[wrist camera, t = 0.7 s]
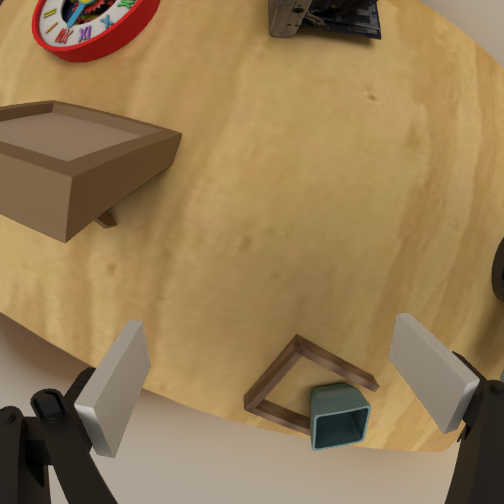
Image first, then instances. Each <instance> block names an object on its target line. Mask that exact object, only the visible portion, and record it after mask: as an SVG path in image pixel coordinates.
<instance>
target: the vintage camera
mask: <svg viewBox="0 0 504 504" xmlns="http://www.w3.org/2000/svg"><path fill="white" fill-rule="evenodd" d="M377 1H378V0H269V26H270V33H271V34H272V35H273V36H276V37H290V36H293V35H294V34H295V33H296V31H297V30H298V27H303V28H311V29H322V30H327V31H332V32H340V33H346V34H353V35H358V36H364V37H369V38H374V39H379V40H381V29H380V22H379V16H378V10H377V3H376V2H377Z"/></svg>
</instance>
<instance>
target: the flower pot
mask: <svg viewBox="0 0 504 504" xmlns="http://www.w3.org/2000/svg"><path fill="white" fill-rule="evenodd" d="M370 410H371V405H370V404H369V403H368V402H367V400H366V399H365V398H364V396H363V395H362V394H361V392H360V391H359V390H358V389H357V388H355V387H353V386H351V385H348V384H344V383H341V384H335V385H329V386H322V387H317V388H316V389H315V390H314V391H313V393H312V398H311V422H310V432H311V443H312V449H313V450H314V451H316V450H323V449H328V448H334V447H339V446H344V445H349V444H354V443H358V442H361V441H363V440H364V438H365V434H366V429H367V424H368V419H369V415H370Z"/></svg>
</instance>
